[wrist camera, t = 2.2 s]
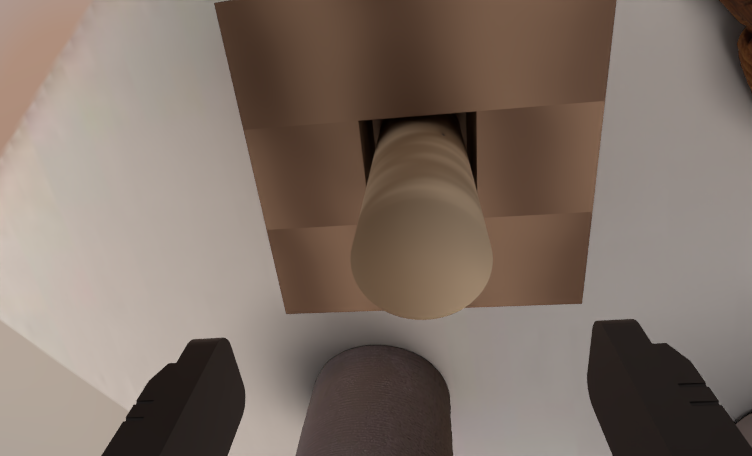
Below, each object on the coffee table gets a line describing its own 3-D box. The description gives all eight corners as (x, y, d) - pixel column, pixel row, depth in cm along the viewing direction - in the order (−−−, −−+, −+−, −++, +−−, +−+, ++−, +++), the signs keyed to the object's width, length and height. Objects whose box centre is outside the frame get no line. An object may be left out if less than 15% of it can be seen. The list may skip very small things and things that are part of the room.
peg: (459, 91, 23) (493, 194, 13) (461, 170, 25) (492, 317, 15) (376, 98, 24) (341, 203, 13) (383, 175, 26) (359, 321, 15)
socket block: (571, -40, 21) (621, -43, 16) (550, 239, 28) (581, 303, 22) (261, -6, 23) (214, 3, 18) (310, 251, 29) (286, 313, 24)
